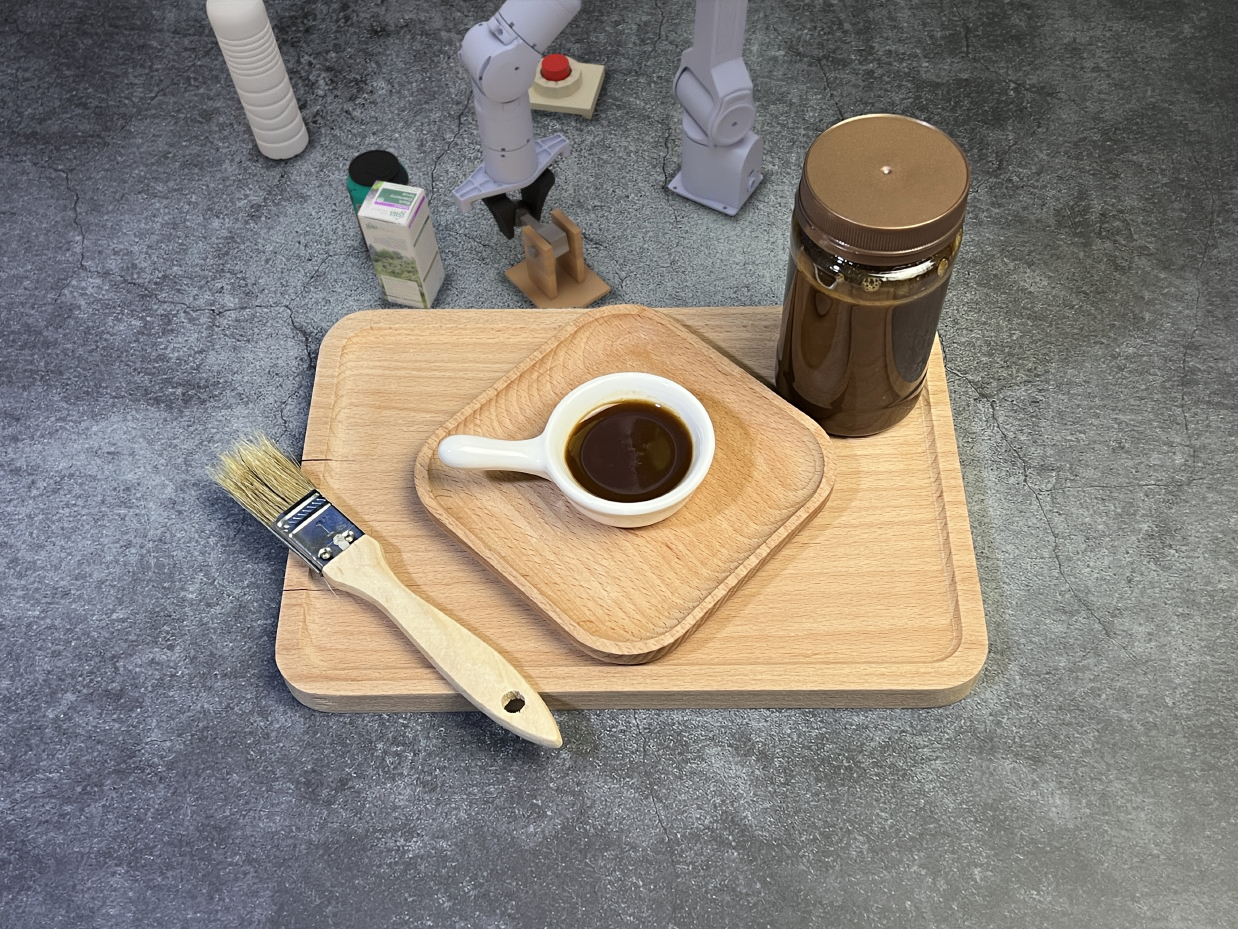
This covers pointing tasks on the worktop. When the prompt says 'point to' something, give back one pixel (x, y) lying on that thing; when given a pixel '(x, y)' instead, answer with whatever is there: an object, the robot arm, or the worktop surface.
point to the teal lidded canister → (373, 176)
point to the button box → (568, 90)
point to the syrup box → (402, 243)
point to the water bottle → (259, 75)
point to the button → (555, 67)
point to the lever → (540, 228)
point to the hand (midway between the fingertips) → (520, 226)
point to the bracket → (556, 270)
